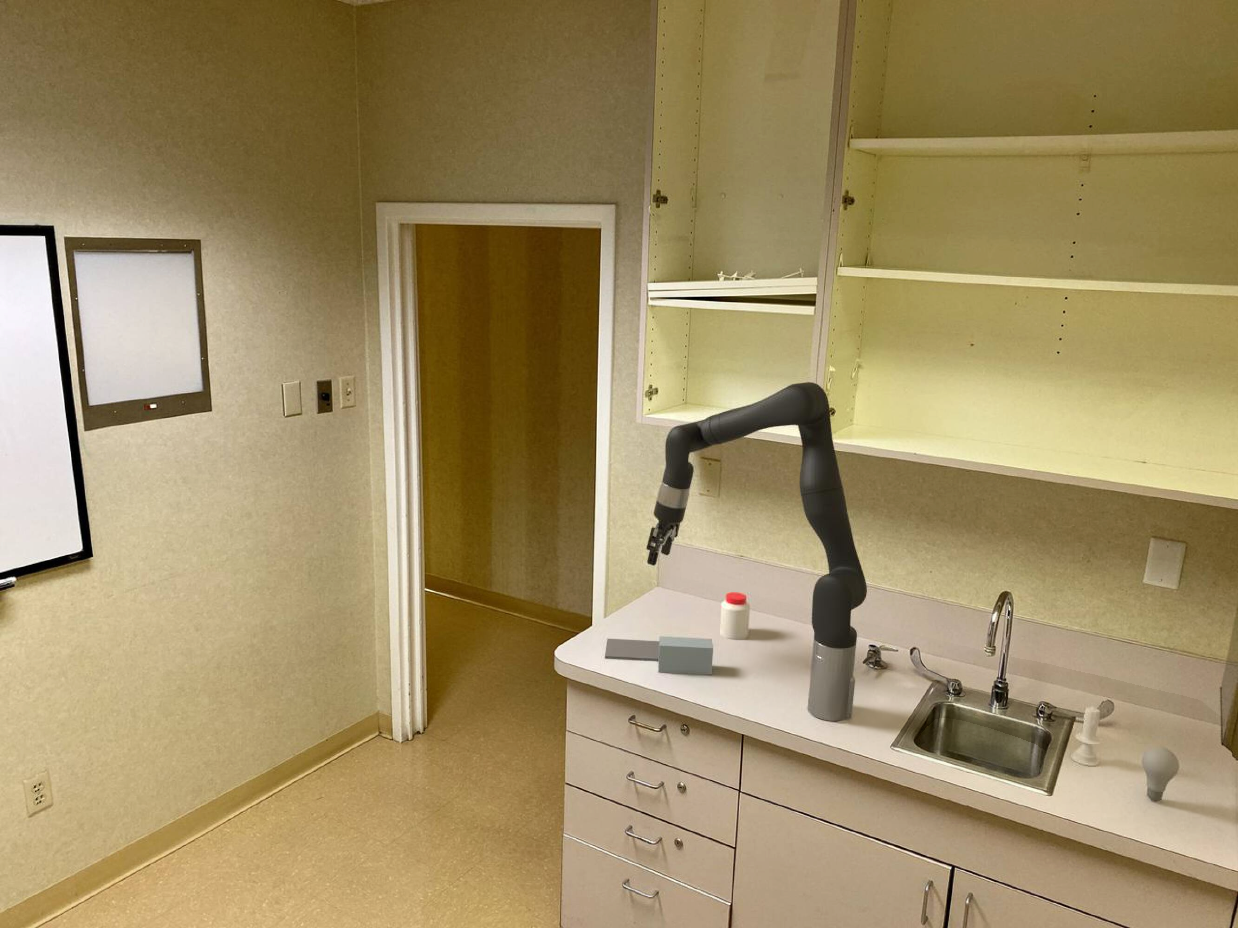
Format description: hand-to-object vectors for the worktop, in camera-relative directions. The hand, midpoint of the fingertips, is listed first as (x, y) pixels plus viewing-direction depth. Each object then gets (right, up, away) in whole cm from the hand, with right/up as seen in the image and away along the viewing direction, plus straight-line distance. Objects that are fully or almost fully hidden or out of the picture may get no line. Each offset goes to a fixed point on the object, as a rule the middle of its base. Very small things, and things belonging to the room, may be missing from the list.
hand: (658, 558), depth 228 cm
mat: (-6, -24, +4) cm, 25 cm away
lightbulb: (+93, -41, -54) cm, 115 cm away
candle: (+87, -38, -40) cm, 103 cm away
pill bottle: (+21, -22, +18) cm, 36 cm away
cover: (+6, -27, -5) cm, 28 cm away
